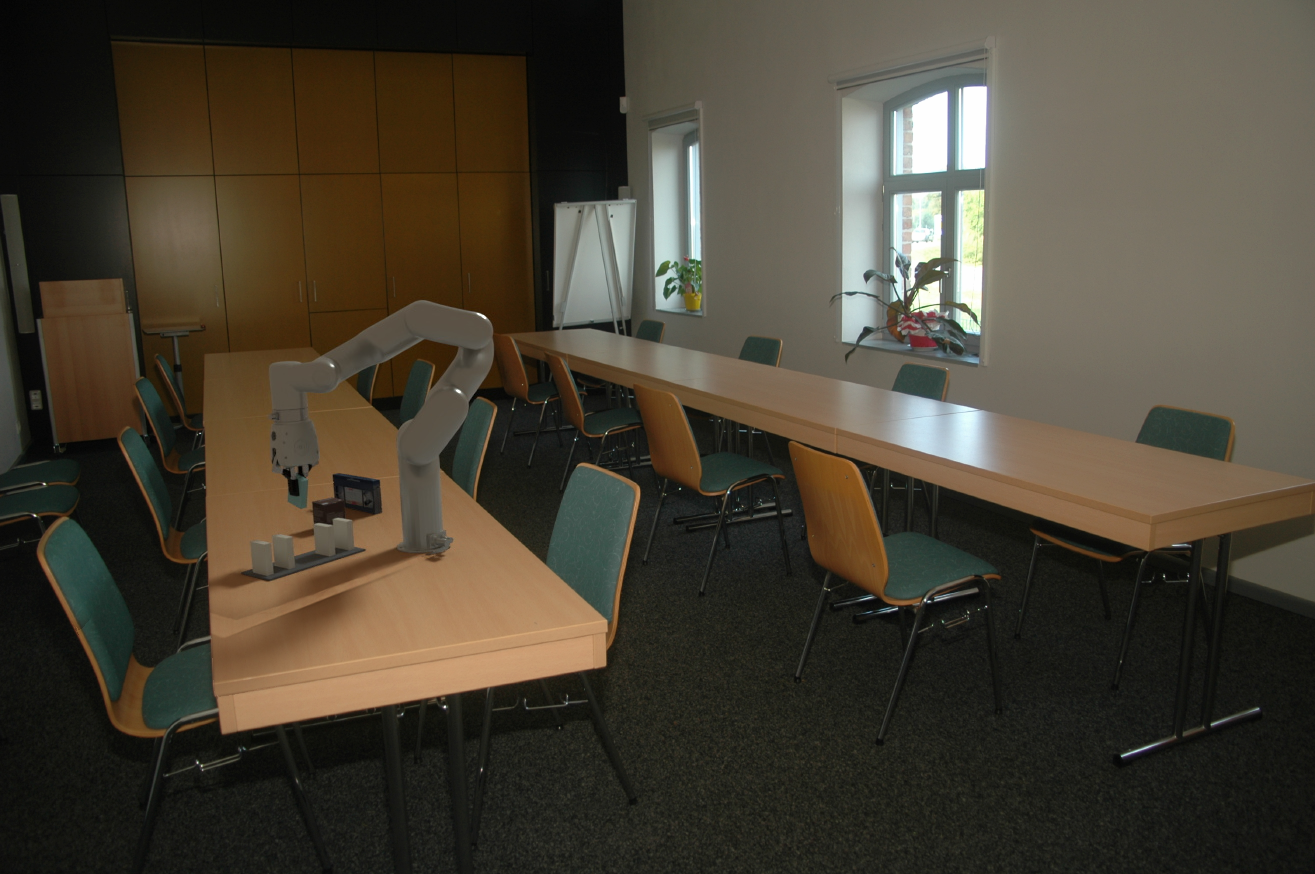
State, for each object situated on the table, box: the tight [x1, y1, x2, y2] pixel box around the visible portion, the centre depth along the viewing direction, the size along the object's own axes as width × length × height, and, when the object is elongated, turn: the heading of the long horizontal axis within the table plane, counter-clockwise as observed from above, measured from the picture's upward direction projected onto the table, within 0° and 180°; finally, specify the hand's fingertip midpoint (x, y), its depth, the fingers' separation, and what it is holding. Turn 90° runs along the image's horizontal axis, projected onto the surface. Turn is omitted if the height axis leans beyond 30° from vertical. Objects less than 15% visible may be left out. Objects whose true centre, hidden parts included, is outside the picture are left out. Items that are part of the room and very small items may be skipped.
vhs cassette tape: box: [332, 472, 383, 516], centre depth 259 cm, size 18×3×10 cm, turn 53°
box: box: [311, 496, 347, 525], centre depth 241 cm, size 6×6×7 cm
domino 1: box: [249, 539, 274, 576], centre depth 202 cm, size 2×5×7 cm, turn 58°
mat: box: [240, 546, 366, 582], centre depth 212 cm, size 10×26×1 cm, turn 148°
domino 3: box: [312, 523, 335, 556], centre depth 216 cm, size 2×5×7 cm, turn 58°
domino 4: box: [333, 518, 355, 550], centre depth 221 cm, size 2×5×7 cm, turn 58°
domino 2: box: [271, 533, 295, 569], centre depth 207 cm, size 2×5×7 cm, turn 58°
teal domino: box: [287, 472, 309, 510], centre depth 214 cm, size 2×5×7 cm, turn 55°
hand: (298, 494), depth 214 cm, fingers closed on teal domino
